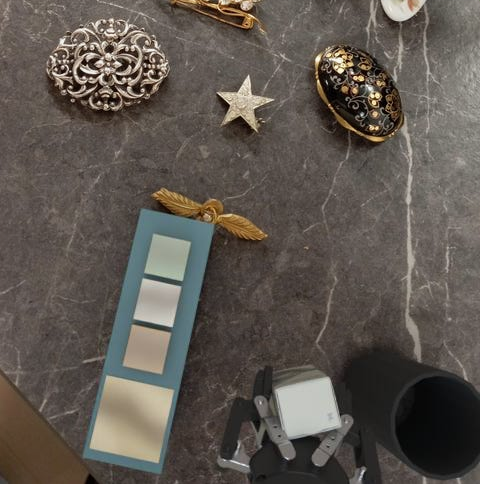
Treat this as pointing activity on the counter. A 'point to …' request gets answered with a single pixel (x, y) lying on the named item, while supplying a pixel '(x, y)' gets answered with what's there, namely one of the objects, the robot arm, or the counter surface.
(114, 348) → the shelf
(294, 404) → the box
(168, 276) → the block line
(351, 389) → the vase
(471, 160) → the counter surface
